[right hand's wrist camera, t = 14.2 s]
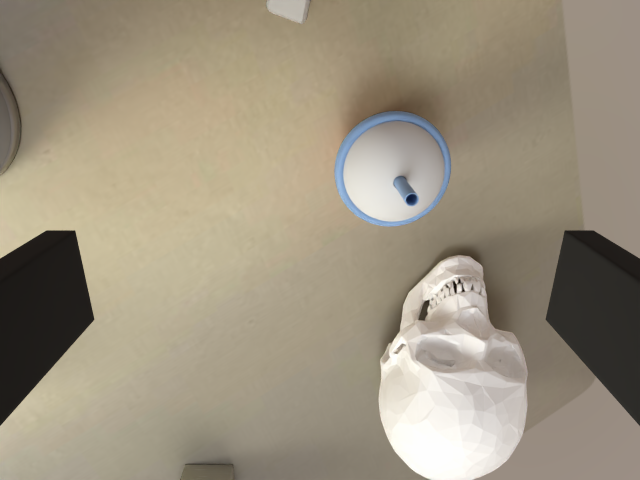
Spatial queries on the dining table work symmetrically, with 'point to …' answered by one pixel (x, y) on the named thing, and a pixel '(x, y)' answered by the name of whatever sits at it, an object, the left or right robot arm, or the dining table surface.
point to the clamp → (290, 9)
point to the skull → (452, 379)
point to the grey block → (207, 472)
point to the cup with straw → (392, 168)
